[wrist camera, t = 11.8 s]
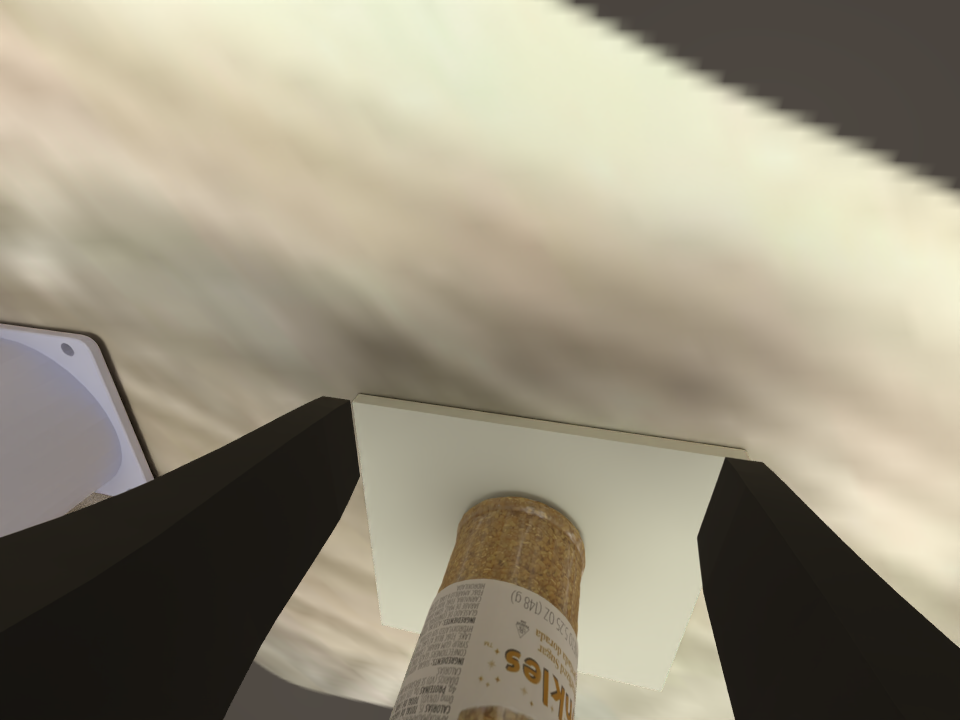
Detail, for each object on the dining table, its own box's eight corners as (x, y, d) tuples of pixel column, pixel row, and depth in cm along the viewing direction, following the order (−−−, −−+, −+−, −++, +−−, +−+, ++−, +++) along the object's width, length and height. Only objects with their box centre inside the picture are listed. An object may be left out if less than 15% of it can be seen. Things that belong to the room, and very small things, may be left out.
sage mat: (386, 614, 21) (381, 625, 21) (359, 393, 16) (352, 401, 15) (659, 678, 19) (661, 692, 19) (745, 449, 13) (750, 461, 13)
